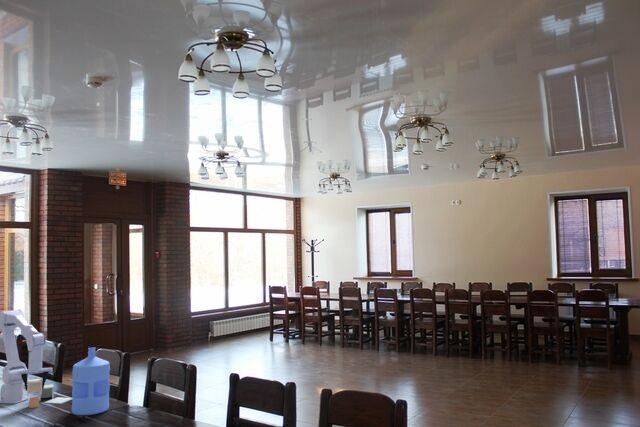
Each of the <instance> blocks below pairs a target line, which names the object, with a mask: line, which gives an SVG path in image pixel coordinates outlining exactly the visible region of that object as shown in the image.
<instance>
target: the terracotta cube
mask: <svg viewBox="0 0 640 427" xmlns="http://www.w3.org/2000/svg"><path fill="white" fill-rule="evenodd" d="M28 407H29V409H33V408H40V400H39V396H31V397H29V404H28Z"/></svg>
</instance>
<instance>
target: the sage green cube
mask: <svg viewBox="0 0 640 427" xmlns="http://www.w3.org/2000/svg"><path fill="white" fill-rule="evenodd" d="M54 390H55V389H54V383H53V384H46V385H45V384H44V389H42V394H41V392H39V396H38V397H39V402H42V401H41V400H42V399H46V398H51V400H52V399H54V394H55V393H54Z"/></svg>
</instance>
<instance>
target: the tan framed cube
mask: <svg viewBox="0 0 640 427" xmlns="http://www.w3.org/2000/svg"><path fill="white" fill-rule="evenodd" d="M42 380H43V378H35V379H27V391H26V396H27V397H29V394H32V393H34V394H35V393H40V392H41V394H42Z"/></svg>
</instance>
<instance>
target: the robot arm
mask: <svg viewBox="0 0 640 427" xmlns="http://www.w3.org/2000/svg"><path fill="white" fill-rule="evenodd" d="M24 317H25V314H24V312H23V311H22V310H21V309H15V310H13V309H12V310H1V311H0V330H1V334H2V340H3V344H4V351H5V355H6V356H5V357H6V362H7V364H6V365H5V366H4V367H3V368H2V377H1V378H2V381H3V383H2V384H1V387H0V404H15V405H16V404H18V403H21V402H23V401H26V400H28V398H26V397H25V398H24V389H25V391H26V392H27V385H28V377H29V375H36V374H42V389H44V385H45V383H46V382H47V381H46V380H47V379H48V378H49V374H50V373H53V371H54V370H53V367H43V352H44V351H43V350H44V345H45V344H46V342H47V337H46V335H45V333H43V332H39V331H38V329H36V328H35V327H34V326H33V324H28V322H27V321H26V319H25V318H24ZM17 328H19V329H20V334H21V335H22V336H23V337H24V339H25V340H26V345H27V351H28V365H27V366H28V368H27V366H26V363H25V362H22V361H21V360H20V357H19V351H18V346H17V339H16V335H15V334H16V333H15V329H17ZM24 387H25V388H24Z"/></svg>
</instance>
